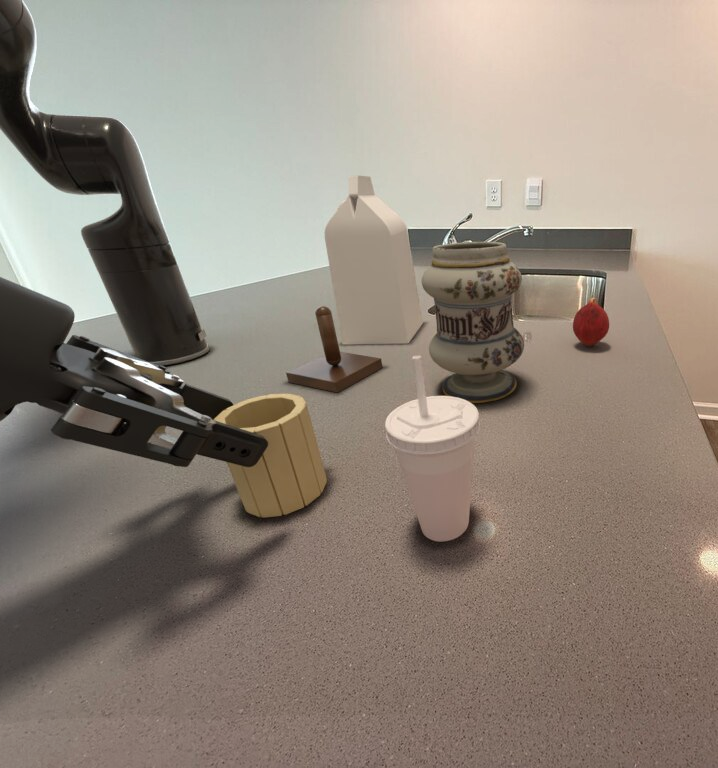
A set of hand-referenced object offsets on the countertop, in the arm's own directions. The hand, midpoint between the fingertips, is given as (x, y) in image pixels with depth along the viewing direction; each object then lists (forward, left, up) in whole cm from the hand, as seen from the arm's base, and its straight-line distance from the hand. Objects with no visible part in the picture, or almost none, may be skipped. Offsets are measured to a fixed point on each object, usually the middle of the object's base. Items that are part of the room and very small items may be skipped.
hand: (242, 431), depth 32 cm
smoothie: (+16, +4, -7) cm, 17 cm away
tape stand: (-14, +23, -7) cm, 28 cm away
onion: (+17, +47, -7) cm, 50 cm away
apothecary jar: (+7, +27, -7) cm, 28 cm away
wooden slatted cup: (+1, +2, -7) cm, 7 cm away
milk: (-20, +41, -7) cm, 46 cm away
